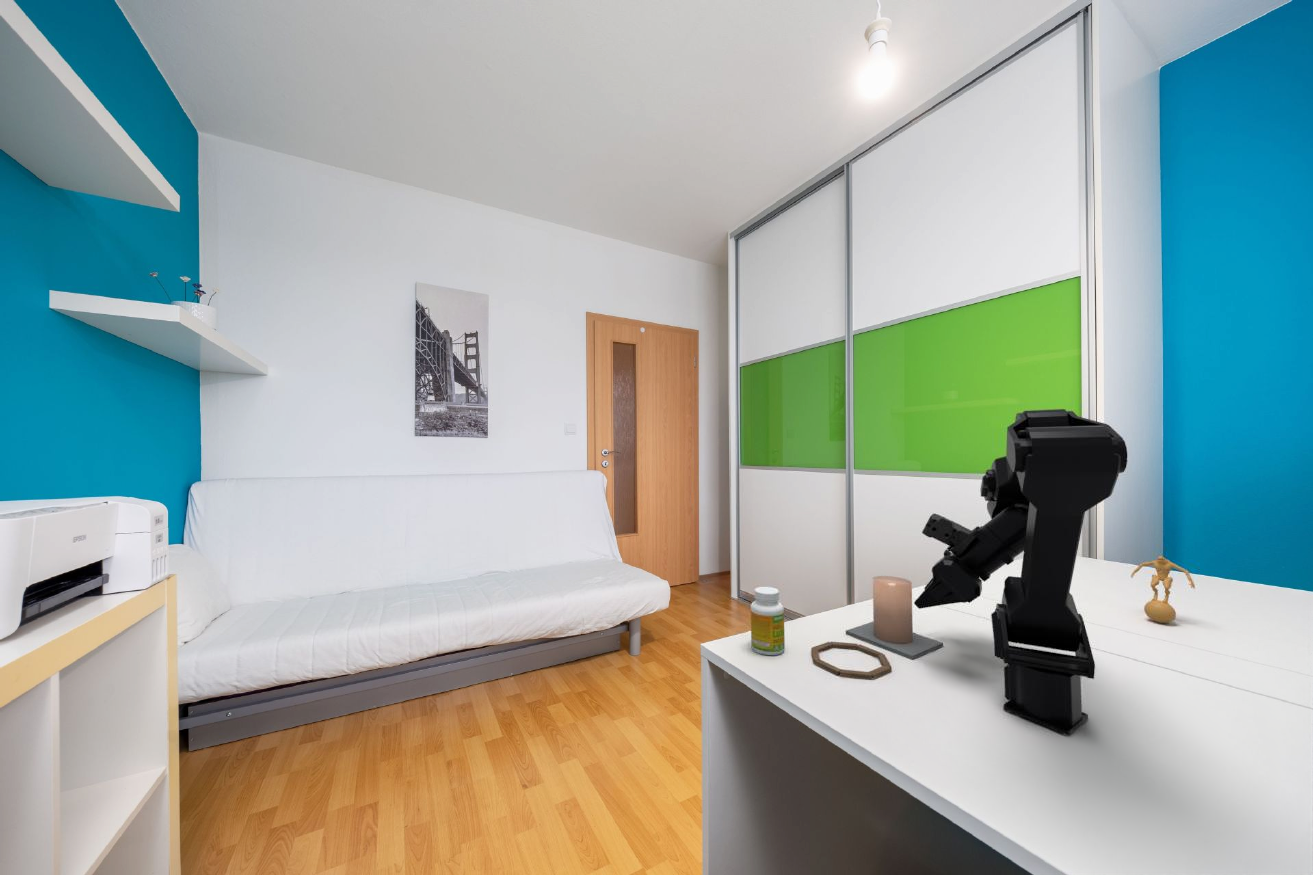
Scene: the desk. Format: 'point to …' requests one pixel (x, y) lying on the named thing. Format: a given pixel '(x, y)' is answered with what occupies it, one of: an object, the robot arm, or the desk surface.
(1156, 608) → the figurine
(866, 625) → the rubber mat
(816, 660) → the coaster ring
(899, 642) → the peach cylinder
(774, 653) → the supplement bottle
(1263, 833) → the desk surface
